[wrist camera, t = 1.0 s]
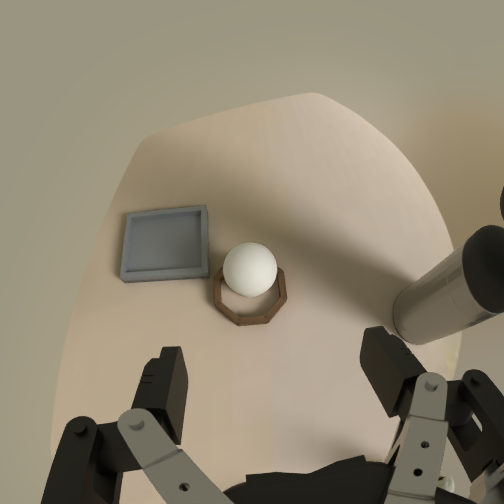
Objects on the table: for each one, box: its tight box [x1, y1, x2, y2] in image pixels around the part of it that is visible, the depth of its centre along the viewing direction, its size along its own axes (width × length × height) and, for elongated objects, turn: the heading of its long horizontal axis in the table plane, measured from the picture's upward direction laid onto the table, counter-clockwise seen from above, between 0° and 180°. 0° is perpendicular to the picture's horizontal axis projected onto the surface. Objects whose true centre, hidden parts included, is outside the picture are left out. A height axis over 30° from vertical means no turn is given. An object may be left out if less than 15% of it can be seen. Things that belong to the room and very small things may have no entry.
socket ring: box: [214, 266, 287, 326], centre depth 40 cm, size 10×10×2 cm
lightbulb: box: [223, 242, 277, 298], centre depth 35 cm, size 6×6×11 cm
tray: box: [120, 205, 210, 283], centre depth 42 cm, size 13×11×2 cm
